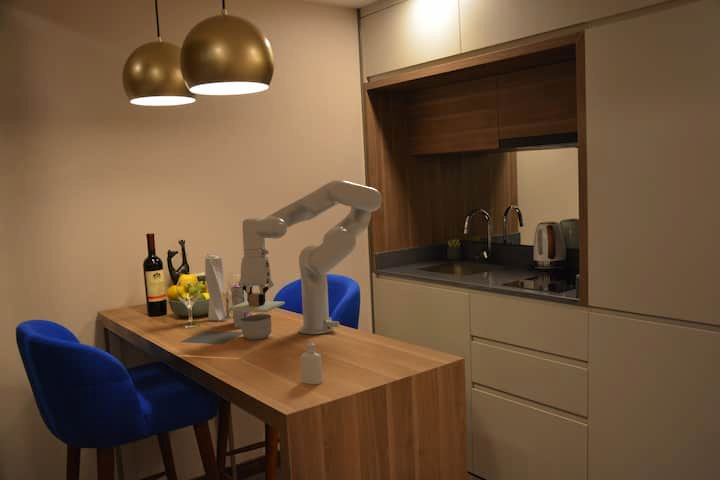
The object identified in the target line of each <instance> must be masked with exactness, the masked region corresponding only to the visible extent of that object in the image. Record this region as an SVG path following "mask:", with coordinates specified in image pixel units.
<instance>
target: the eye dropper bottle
mask: <svg viewBox="0 0 720 480" xmlns="http://www.w3.org/2000/svg"><path fill="white" fill-rule="evenodd" d="M300 373H301V374H300V375H301V382H302V383H303V384H306V385H320V384H321V383H322V382H323V365H322V356H321V354H320V353H318V352H316V345H315V343H313V341H312V339H308V343H307V344H306V345H305V352H304V353H302V354H301V356H300Z"/></svg>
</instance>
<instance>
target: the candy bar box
mask: <svg viewBox="0 0 720 480" xmlns="http://www.w3.org/2000/svg"><path fill="white" fill-rule="evenodd" d="M238 284H239V282H236V283H235V284H234V285H233V286H232V287H231V288H230V289H231V290H230V291H231V301H232V303H231V304H232V305H231V306H235V305H238V304H240V303H243V302H245V301H248V297H247V294H246V292H245V291H244V290H243V288H241V287H240V286H238ZM250 315H252V312H248V311H232V318H233V319H232V320H233V329H242V327H241V321H240V319H241V318H243V317H246V316H250Z"/></svg>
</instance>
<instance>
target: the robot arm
mask: <svg viewBox="0 0 720 480" xmlns="http://www.w3.org/2000/svg"><path fill="white" fill-rule="evenodd" d="M382 196H383V195H382V194H381V192H379V191H378V189H376V188H373V187H369V186H365V185H362V184H359V183H358V184H357V183H355V182H351V181H346V180H342V179H338V180H331V181H329V182H327V183H325V184H323V185H322V186H320V187H319V188H317V189H315V190H314V191H312V192H310V193H308V194H306V195H305V196H303V197H301V198H299V199H297V200H295V201H294V202H291V203H290V204H288V205H286V206H284V207H281V208H279V209H278V210H277V211H275V212H273V213H271V214H269V215H268V216H266V217H265V218H264V219H262V218H256V217H255V218H245V219H243V221H242V222H241V223H242V225H241V226H242V244H243V245H242V246H243V247H242V248H243V249H242V250H243V257H242V259H241V263H240V264H241V265H240V279H239V282H238V283H239V284H238V286H240V287H241V288H243V290H244V291H245V292H246V294H247V297H248V303H249V295H250V294H253V293H254V292H253V288H254V287H258V291H259V293H260V294H259V305H260V306H261V305H264V304H265V301H266V294H267V292H268V291H269V290H270V289H271V288H272V287H274V286H275V284H274V282H273V280H272V273H271V266H270V261H269V258H268V256H267V255H269V250H267V249H266V246H265V245H266V241H265V239H275V240H276V239H281V238H283V237H284V236H285V235H286V233H287V232H288V228H290V227H292V226H294V225H296V224H299V223H301V222H306V221H311V220H313V219H315V218H317V217H318V216H320V215H322V214H323V213H325V212H327V211H328V210H330V209H332V208H334V207H335V206H338V205H343V206H346V207H349V208H350V211H349V213H348V214H347V215H346V216H345V217H344V218H342V220H341V221H340V222H338V223H337V224H336V225H334V226H333V227H332V228H330V229H329V230H328V231H326V232H325V234H324V236H323V238H322V243H321V244H319V245H314V244H313V245H312V244H310V245H307V246H306V247H304V248H303V249H301V251H300V254H299V256H298V267H299V271H300V280H301V302H302V304H301V305H302V324H303V325H302V326H300V327H299V329H298V330H299V333H301V334H304V335H305V334H306V335H322V334H327V333H331V332H333V331H334V328H340V322H339V321H338V320H337V321H336V320H332V317H331V316H330V314H329V293H328V292H329V290H328V287H329V286H328V276H327V273H328V272H330V271H331V270H333V269H334V268H336V266H337V265H339V264H340V263H341V262H343V261H344V260H345V259H346V258H347V257H349V255H351V254H352V252H353V251H354V249H355V247H356V244H357V238H358V237H359V236H360V235H361V234H363V232H365V231H366V230H367V228H368V226H369V225H370V222H371V217H372V212H375V211H377V210H378V209H379V208H380V207H381V205H382V203H383V197H382ZM253 286H254V287H253Z"/></svg>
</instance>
